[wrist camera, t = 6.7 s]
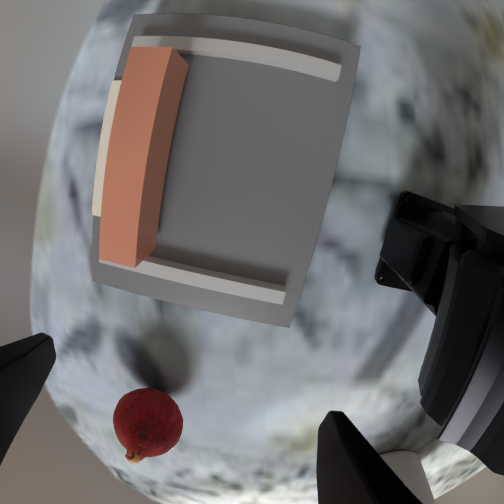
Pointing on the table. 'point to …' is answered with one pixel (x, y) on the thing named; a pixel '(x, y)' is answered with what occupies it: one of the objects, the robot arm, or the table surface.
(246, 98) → the box
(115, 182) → the lever
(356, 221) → the table surface
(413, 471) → the cylinder vase
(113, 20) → the table surface
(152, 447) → the pomegranate
